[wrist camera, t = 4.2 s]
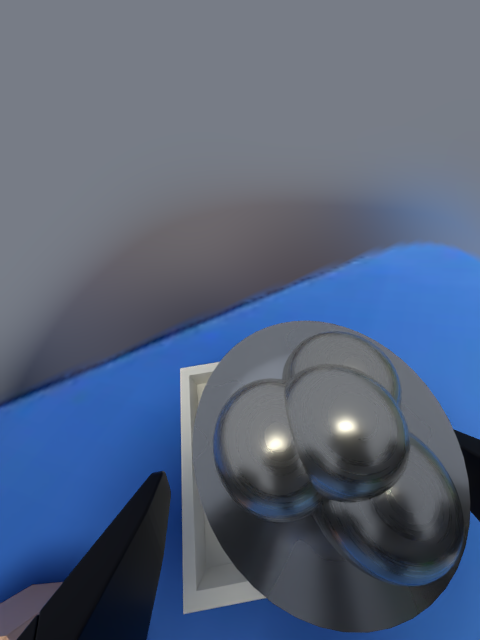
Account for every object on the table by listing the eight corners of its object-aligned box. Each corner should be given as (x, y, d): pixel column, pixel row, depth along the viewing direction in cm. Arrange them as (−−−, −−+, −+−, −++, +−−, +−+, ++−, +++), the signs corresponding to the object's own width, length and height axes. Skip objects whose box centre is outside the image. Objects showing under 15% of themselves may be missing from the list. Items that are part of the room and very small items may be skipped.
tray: (395, 542, 13) (431, 565, 10) (198, 580, 12) (183, 614, 10) (326, 357, 18) (337, 342, 16) (191, 380, 18) (180, 368, 15)
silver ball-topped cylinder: (301, 515, 13) (864, 1273, 1) (223, 469, 14) (55, 545, 2) (325, 425, 15) (577, 323, 3) (255, 393, 17) (251, 238, 5)
